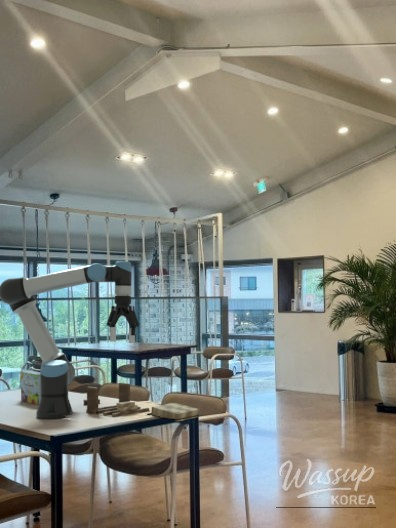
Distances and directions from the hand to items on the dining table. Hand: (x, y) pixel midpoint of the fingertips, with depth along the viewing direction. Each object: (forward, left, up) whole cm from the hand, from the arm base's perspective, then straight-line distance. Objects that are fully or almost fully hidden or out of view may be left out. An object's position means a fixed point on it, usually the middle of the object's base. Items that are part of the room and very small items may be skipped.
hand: (122, 342), depth 298 cm
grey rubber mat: (+5, -17, -31) cm, 35 cm away
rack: (-8, -6, -31) cm, 32 cm away
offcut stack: (-8, -12, -31) cm, 34 cm away
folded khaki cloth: (+5, -21, -28) cm, 36 cm away
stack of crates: (+1, +25, -32) cm, 40 cm away
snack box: (-11, +56, -31) cm, 65 cm away
